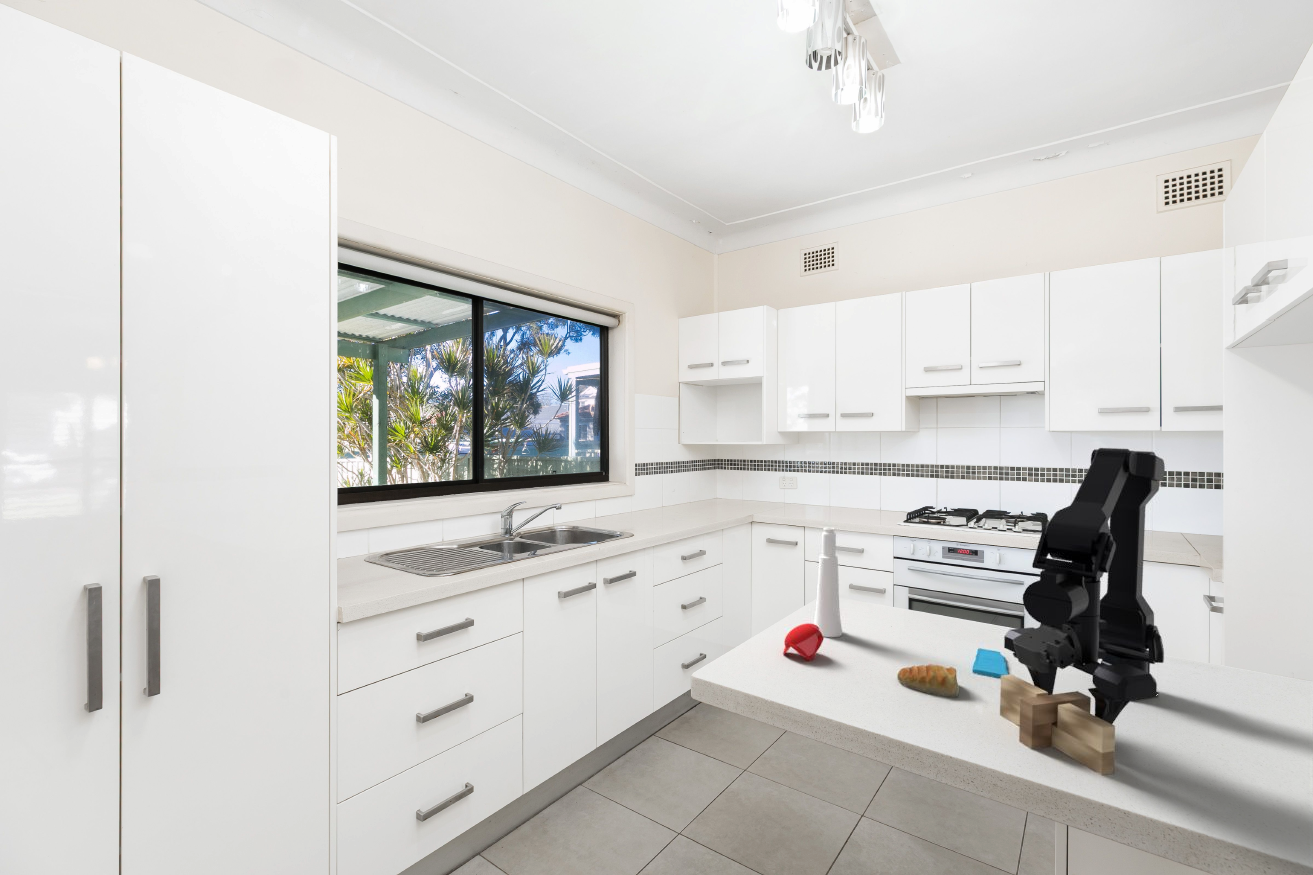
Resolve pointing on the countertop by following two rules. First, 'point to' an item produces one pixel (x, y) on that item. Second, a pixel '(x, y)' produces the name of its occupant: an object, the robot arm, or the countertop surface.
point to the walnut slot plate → (1045, 716)
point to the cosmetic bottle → (828, 588)
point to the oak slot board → (1065, 726)
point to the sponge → (990, 663)
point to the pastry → (930, 679)
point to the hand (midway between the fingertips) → (1071, 720)
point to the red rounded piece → (804, 640)
